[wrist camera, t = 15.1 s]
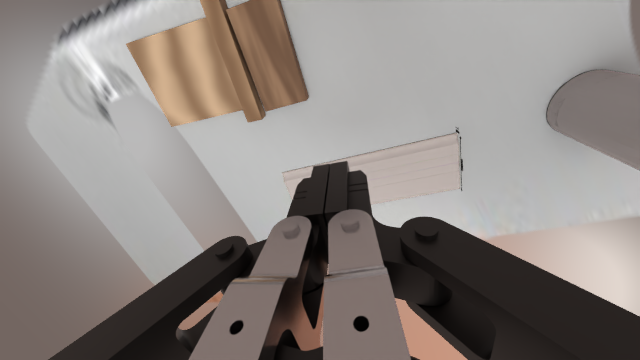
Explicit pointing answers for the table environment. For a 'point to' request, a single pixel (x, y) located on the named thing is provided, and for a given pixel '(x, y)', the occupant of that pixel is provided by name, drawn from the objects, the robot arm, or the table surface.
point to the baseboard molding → (401, 169)
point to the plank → (269, 52)
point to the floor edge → (198, 69)
